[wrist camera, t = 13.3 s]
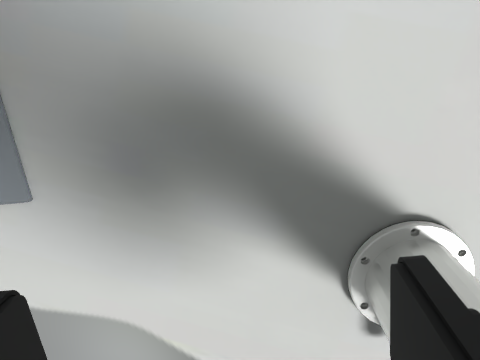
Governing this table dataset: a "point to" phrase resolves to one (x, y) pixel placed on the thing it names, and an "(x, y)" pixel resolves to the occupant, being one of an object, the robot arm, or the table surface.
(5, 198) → the mat
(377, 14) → the table surface
